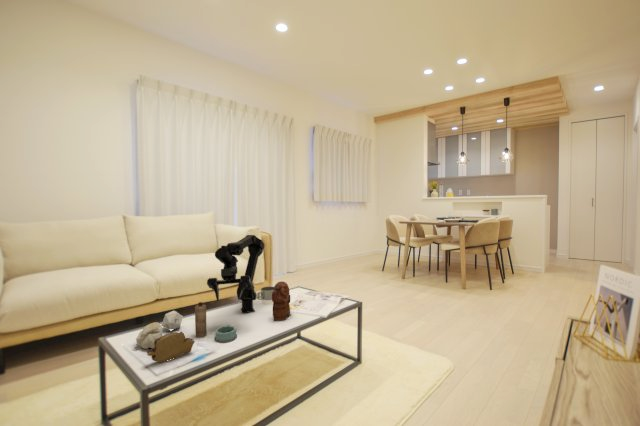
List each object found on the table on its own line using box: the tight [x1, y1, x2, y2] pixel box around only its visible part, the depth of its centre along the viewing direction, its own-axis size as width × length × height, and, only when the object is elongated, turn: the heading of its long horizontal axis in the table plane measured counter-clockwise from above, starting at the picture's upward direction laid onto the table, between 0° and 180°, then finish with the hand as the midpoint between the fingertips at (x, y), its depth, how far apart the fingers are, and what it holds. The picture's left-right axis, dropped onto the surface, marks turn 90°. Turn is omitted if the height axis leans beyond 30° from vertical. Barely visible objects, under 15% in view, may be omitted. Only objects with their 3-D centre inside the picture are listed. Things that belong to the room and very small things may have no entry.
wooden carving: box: [146, 331, 195, 363], centre depth 120 cm, size 16×5×10 cm, turn 136°
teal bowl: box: [214, 325, 238, 344], centre depth 137 cm, size 9×9×4 cm
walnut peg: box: [194, 302, 207, 339], centre depth 140 cm, size 4×4×15 cm
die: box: [160, 310, 184, 330], centre depth 147 cm, size 8×9×10 cm
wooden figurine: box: [271, 281, 291, 322], centre depth 161 cm, size 12×6×18 cm, turn 161°
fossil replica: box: [135, 321, 163, 350], centre depth 131 cm, size 12×8×10 cm
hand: (228, 299), depth 143 cm, fingers open, 9 cm apart
